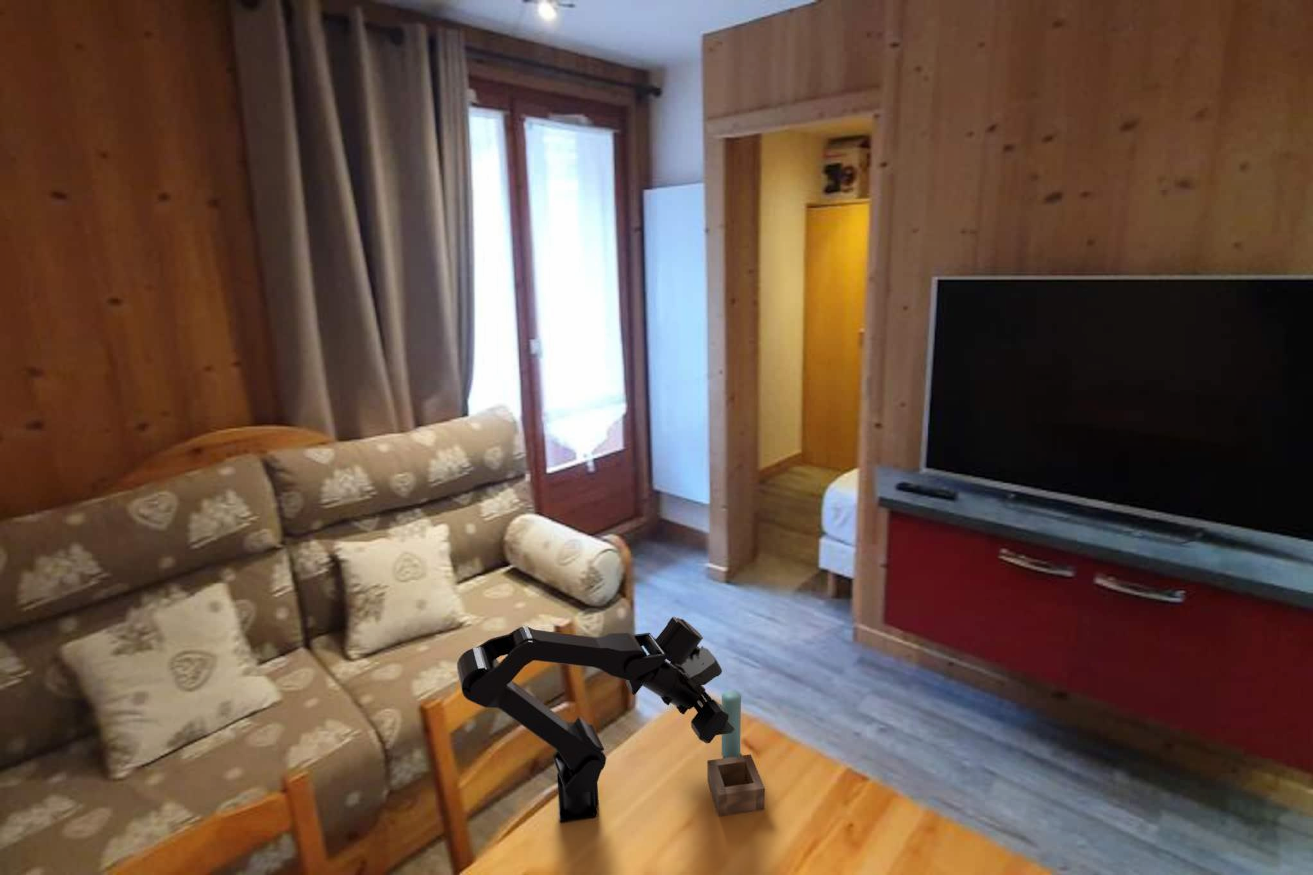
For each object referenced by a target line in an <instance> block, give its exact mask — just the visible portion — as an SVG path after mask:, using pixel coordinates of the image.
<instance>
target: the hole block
mask: <svg viewBox="0 0 1313 875" xmlns="http://www.w3.org/2000/svg"><path fill="white" fill-rule="evenodd" d="M706 762H707V764H706V765H707V769H706V770H707V771H706V772H707V773H706V774H707V778H706V779H707V783H708V787H709V790H710V794H711V797H712V799H713V800H712V801H713V803H714V806H715V808H716V813H717V816H718V817H725V816H730V815H731V816H732V815H737V814H743V813H751V812H757V811H762V810H763V811H764V810H765V799H766V798H765V794H766V793H765V792H766V787H765V785H764V783H763V781H762V779H761V775H760V774H759V771H758V769H757V767H756V763H755V761H754V759H753V756H752V754H750V753H749V754H745V755H740V756H736V757H729V758H724V757H722V758H716V759H709V760H708V759H707V761H706ZM739 783H745V784H739ZM733 784H738V785H733ZM726 785H731V786H726ZM725 786H726V787H725Z"/></svg>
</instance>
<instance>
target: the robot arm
mask: <svg viewBox="0 0 1313 875" xmlns="http://www.w3.org/2000/svg"><path fill="white" fill-rule="evenodd" d="M703 639H704V637H703V635H702V634H701V633H700V632H699V631H698V630H697V629H695V628H694V627H693V626H692V625H691V624H690V623H688V622H687V621H686V620H684V618H680V617H675V616H672V617H671V618H670V619H669V620H668V622H667V623H666V626H665V627H664V628H663V629H662V631H661V632H660V633H659V634H658V636H657V637H656V638H655V637H654V636H653V635H652V634H651V632H644V633H636V634H632V633H629V632H628V633H627V632H617V633H607V634H606V635H603V636H600V637H596V636H595V637H592V636H584V635H578V634H577V635H576V634H572V633H571V634H570V633H562V632H556V631H548V630H539V629H533V628H531V627H528V626H519V627H517V628H516V629H515V630H513V631H511V632H510V633H507V634H505V635H504V634H503V635H500V636H496V637H493V638H490V639H487V640H486V641H484V642H482V643H481V644H480V645H478V646H477V647H473V648H472V647H471V648H470V649H467V650H466V651H465V652H464V653H462V654H461V655H460V657H459V658H458V660H457V663H456V669H457V675H458V680H459V684H460V687H461V693H462V696H463V697H464V698H465V699H466V700H467V701H469V702H471V703H474V704H476V705H478V706H480V707H482V708H488V709H498V710H501V711H502V712H503V713H505V714H506V715H508V716H509V717H510V718H512V719H513V720H514V721H515V722H517V723H518V724H520V725H521V726H523V727H524V728H525V729H526V730H529V731H530V732H531V733H533V734H534V735H535V736H536V737H538V738H539V739H541V740H542V741H543V742H545V743H546V744H548V745H549V746H550V747H552V748H553V749H555V750H556V752H555V753H554V754H553V756H552V760H553V762H554V765H555V768H556V771H557V773H556V777H557V779H556V780H557V794H558V820H559V822H560V823H567V822H571V821H572V822H573V821H579V820H585V819H592V818H595V817H598V816H597V815H598V812H597V809H598V808H597V806H599V804H600V803H599V787H598V786H599V785H598V781H599V780H600V779H599V778H600V775H601V773H602V771H603V769H604V768H605V766H606V763H607V757H606V754H605V752H604V751H605V747H604V745H603V743H602V742H601V740H600V737H599V735H598V733H597V731H596V729H595V727H594V725H593V724H589V723H587V722H585V719H583V718H582V717H581V716H577V718H576V720H575V721H574V722H573V721H566V720H565V719H564V718H562V717H561V716H560V715H558V714H557V713H556V712H554V711H553V710H551V709H550V708H549V707H548V706H546V705H545V704H544V703H542V702H541V700H538V699H537V698H536V697H534V696H533V695H532V694H531V693H529V692H528V691H527V690H525V689H524V688H523V687H522V686H520V685H519V684H517V683H515V682H514V681H513V680H514V679H515V677H516V676H517V675H518V674H519V673H520V672H521V671H522V669H524V667H526V666H527V665H529V664H530V663H532V662H533V661H534V662H545V663H553V664H560V665H570V666H579V667H589V668H595V669H598V670H601V671H603V672H604V673H605V674H607V675H609V676H611V677H614V678H618V679H620V680H623V681H625V684H626V686H627V687H628V690H629V691H630V693H631V694H632V695H634V696H635V695H636V694H637V693H638V692H639V691H640V689H641V688H642V687H645V689H647V690H648V691H651V693H654V694H655V695H656V696H658V697H660V698H661V700H662V702H663V703H664V704H665V705H667V706H669V705H670V704H672V705H674V706H675V708H676V709H677V711H678V712H679V713H680V714H682V715H683V716H684V715H685V714H686V713H687V711H688V710H691V709H693V708H694V709H695V711H696V714H695V715H694V717H693V718H692V719H691V721H690V723H691V725H690V726H691V729H692V731H693V732H694V733H695V735H696V736H697V738H698V739H699V740H700V741H701V742H702V743H705V744H707V745H708V744H710V743H711V742H712V741H713V739H715V737H716V736H720V735H721V736H722V734H730V733H732V732H733V731H734V727H733V726H732V725H731V724H730V723H729V722H728V718H729V715H728V713H727V712H726V711H725V709H724V708H723V707H722V703H719V702H718V701H717V700H715V699H714V698H713V699H712V697H711V695H709V694H708V693H707V692H706V691H707V690H706V688H705V687H704V686H705V685H707V684H708V683H710V682H711V681H712V680H714V679H715V678H716V677H719V676H720V675H721V674H722V672H723V669H722V668H721V665H720V664H719V662H718V661H717V659H716V657H715V656H714V655H713V653H712V652H711V651H710V650H709V649H708V648H706V647H704V645H701V646H698V645H699V644H700V643H701V641H702V640H703ZM644 649H645V650H644ZM503 656H505V657H504V658H503V659H502V660H501V662H500V661H499V660H498V658H500V657H503Z"/></svg>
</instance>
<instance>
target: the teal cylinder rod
mask: <svg viewBox="0 0 1313 875" xmlns="http://www.w3.org/2000/svg"><path fill="white" fill-rule="evenodd" d="M721 705H722V707H723V708H724V709H725V711H726V712H727V713H728V715H729V718H728V722H729V723H730V724H731V725H732V726H733V727H734V731H733V732H732V733H730V734H722V735H721V756H722V758H729V757H736V756H741V739H742V738H741V732H742V730H741V725H742V721H741V719H742V716H741V715H742V695H741V693H740V692H738V690H735V689H734V690H733V689H728V690H725V691H723V692H722V693H721Z"/></svg>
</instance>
